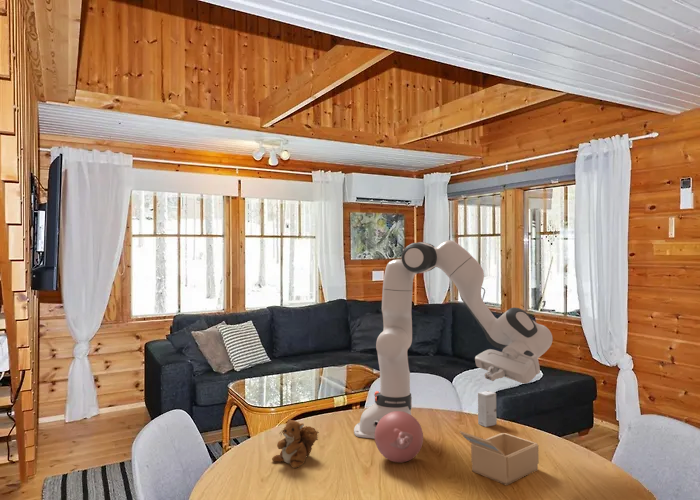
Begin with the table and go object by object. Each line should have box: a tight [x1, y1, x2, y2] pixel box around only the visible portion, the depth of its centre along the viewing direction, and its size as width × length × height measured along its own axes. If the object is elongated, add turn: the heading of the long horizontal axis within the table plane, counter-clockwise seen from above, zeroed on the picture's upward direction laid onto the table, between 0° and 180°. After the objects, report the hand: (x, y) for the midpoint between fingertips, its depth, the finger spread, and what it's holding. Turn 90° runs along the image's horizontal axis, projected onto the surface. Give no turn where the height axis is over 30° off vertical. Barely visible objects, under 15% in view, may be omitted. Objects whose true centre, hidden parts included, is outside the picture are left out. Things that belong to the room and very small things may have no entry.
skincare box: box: [477, 390, 498, 428], centre depth 194 cm, size 6×4×12 cm
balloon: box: [374, 411, 424, 464], centre depth 158 cm, size 15×20×15 cm
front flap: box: [459, 430, 504, 456], centre depth 145 cm, size 8×11×1 cm
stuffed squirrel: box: [271, 418, 320, 469], centre depth 162 cm, size 10×14×13 cm
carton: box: [470, 432, 540, 486], centre depth 152 cm, size 16×13×8 cm
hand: (488, 377), depth 157 cm, fingers closed
